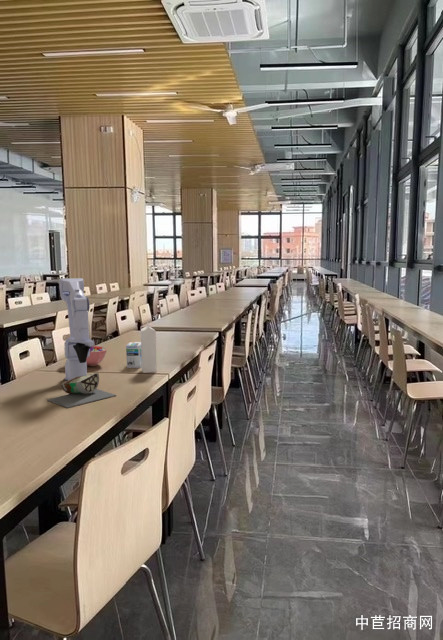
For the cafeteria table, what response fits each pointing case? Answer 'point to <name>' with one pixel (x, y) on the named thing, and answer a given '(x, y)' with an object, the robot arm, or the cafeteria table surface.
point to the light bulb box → (133, 355)
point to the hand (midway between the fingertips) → (82, 362)
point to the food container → (81, 384)
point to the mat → (80, 398)
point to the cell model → (96, 355)
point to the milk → (148, 349)
